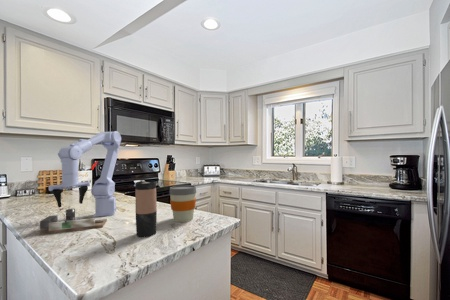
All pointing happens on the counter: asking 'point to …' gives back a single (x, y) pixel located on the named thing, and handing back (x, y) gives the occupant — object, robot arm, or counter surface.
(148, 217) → the travel mug
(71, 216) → the gauge slider
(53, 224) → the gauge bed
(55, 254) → the counter surface
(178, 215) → the reusable coffee cup
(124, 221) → the counter surface
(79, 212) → the counter surface
